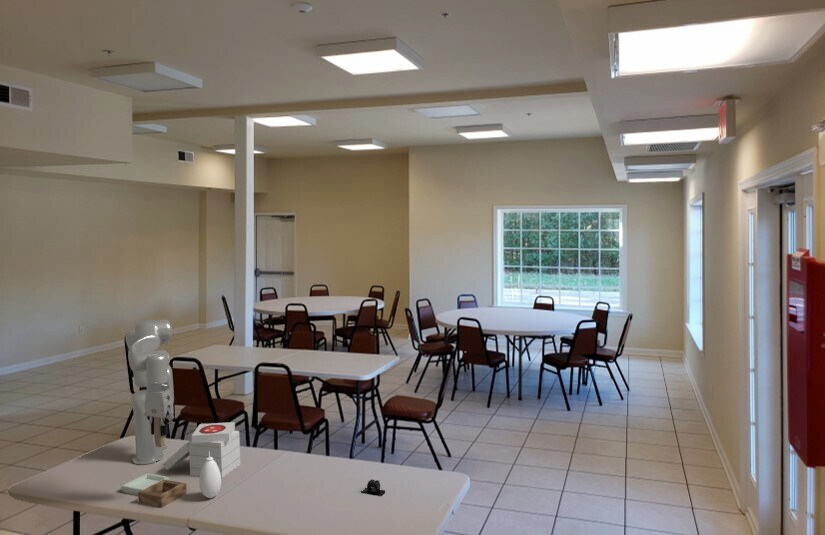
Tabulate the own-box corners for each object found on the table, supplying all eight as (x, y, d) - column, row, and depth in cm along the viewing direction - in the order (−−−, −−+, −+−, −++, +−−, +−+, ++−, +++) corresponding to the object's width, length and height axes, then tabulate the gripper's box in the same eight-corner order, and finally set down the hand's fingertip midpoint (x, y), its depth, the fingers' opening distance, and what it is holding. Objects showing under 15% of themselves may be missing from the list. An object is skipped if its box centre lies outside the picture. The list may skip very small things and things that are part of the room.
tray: (147, 479, 245) (147, 473, 245) (169, 483, 240) (169, 477, 240) (121, 492, 233) (120, 485, 233) (144, 496, 228) (143, 490, 228)
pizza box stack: (186, 458, 267) (184, 419, 266) (247, 463, 260) (245, 422, 259) (159, 475, 248) (157, 433, 247) (223, 480, 241) (221, 437, 240)
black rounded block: (392, 491, 229) (392, 480, 229) (383, 499, 223) (383, 487, 222) (364, 486, 234) (363, 475, 234) (354, 494, 228) (354, 482, 228)
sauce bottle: (202, 503, 221) (200, 456, 220) (198, 496, 228) (196, 450, 227) (224, 498, 225) (222, 452, 224) (218, 491, 232) (217, 445, 231)
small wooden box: (164, 489, 234) (163, 479, 234) (186, 493, 230) (186, 483, 230) (138, 502, 223) (138, 492, 223) (161, 507, 219) (161, 497, 218)
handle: (161, 449, 222) (159, 410, 221) (148, 447, 225) (147, 408, 224) (171, 445, 227) (169, 406, 226) (158, 443, 229) (157, 404, 228)
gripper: (182, 386, 225) (184, 433, 226) (148, 382, 231) (150, 428, 232) (167, 391, 218) (169, 440, 219) (133, 387, 224) (135, 434, 225)
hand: (159, 433), depth 225 cm, fingers closed on handle, 4 cm apart
